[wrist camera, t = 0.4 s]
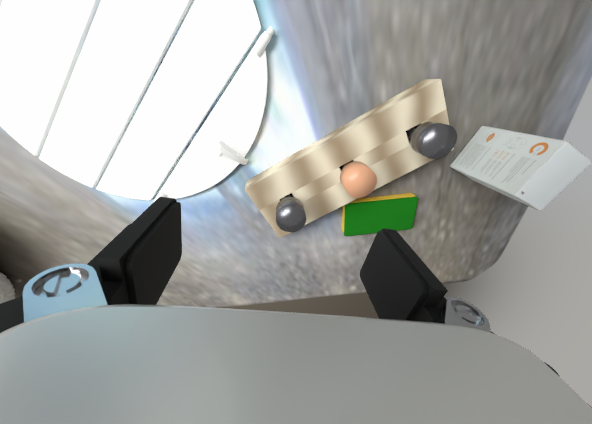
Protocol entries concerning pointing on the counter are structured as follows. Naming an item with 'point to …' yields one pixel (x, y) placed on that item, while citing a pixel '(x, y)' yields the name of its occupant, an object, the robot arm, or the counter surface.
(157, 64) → the lazy susan
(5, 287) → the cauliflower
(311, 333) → the robot arm
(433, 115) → the knob mount
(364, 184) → the middle knob
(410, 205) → the dish sponge
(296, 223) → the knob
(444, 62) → the counter surface
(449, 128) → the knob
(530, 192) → the small box
